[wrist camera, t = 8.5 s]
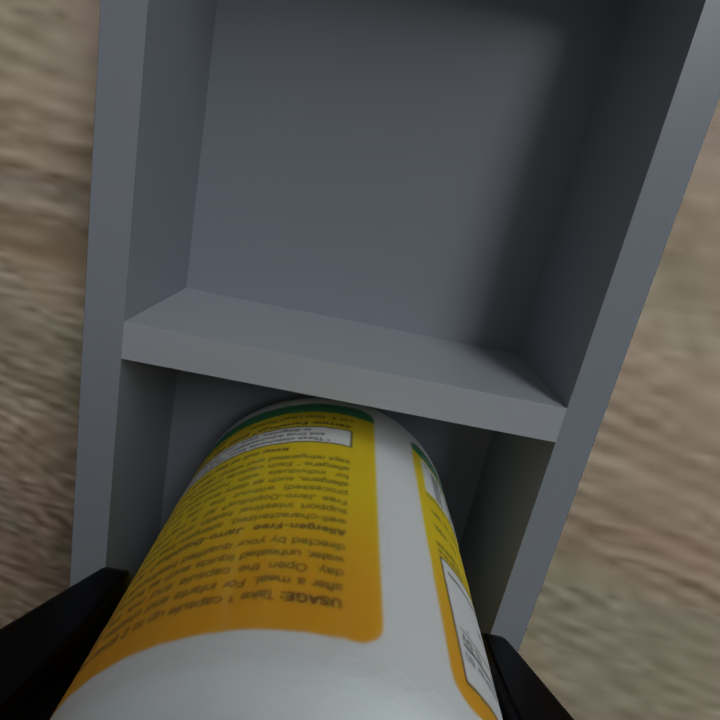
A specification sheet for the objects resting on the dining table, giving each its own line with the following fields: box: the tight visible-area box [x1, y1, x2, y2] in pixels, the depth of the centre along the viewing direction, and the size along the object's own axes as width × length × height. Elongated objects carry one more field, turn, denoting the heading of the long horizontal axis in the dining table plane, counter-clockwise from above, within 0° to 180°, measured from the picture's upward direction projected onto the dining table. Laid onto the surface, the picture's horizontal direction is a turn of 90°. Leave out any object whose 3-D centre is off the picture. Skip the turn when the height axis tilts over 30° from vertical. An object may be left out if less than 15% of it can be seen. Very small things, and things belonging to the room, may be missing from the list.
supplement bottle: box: [50, 397, 503, 720], centre depth 8 cm, size 5×5×10 cm
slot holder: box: [70, 0, 720, 652], centre depth 12 cm, size 8×23×4 cm, turn 168°
